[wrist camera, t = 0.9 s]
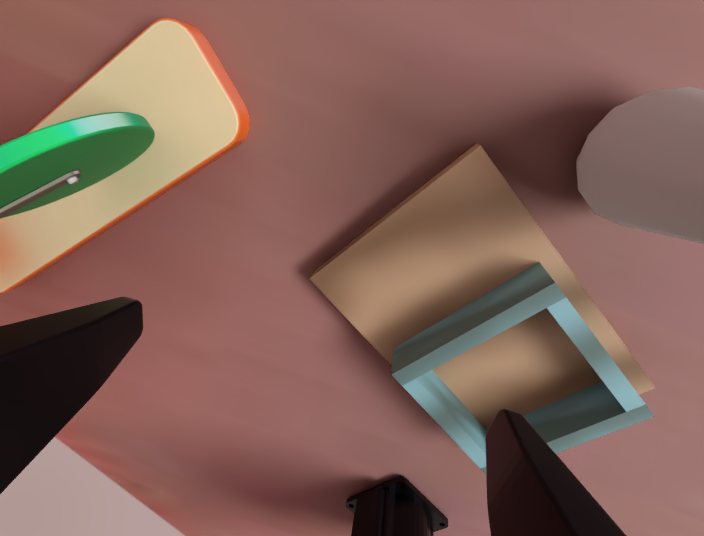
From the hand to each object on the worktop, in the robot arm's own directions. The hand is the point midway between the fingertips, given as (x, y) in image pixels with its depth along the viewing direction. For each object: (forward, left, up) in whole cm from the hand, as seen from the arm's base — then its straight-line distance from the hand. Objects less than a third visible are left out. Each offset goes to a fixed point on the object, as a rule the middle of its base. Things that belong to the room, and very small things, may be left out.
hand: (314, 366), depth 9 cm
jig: (-10, 0, -14) cm, 17 cm away
